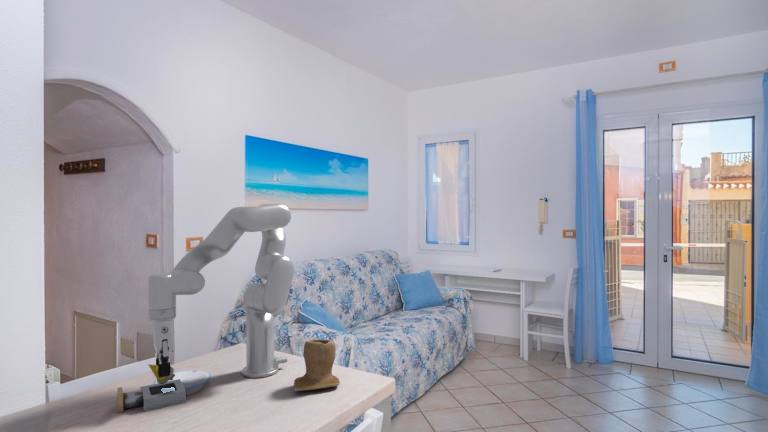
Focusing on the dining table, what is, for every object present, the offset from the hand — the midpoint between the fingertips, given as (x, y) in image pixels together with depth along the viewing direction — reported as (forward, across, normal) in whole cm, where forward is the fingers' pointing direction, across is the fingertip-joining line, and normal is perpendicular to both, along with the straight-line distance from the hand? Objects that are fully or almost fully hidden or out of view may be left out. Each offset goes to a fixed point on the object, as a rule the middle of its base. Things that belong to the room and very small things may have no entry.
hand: (163, 372), depth 132 cm
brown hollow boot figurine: (+9, -16, -43) cm, 47 cm away
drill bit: (+3, -1, 0) cm, 3 cm away
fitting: (+8, 0, +3) cm, 9 cm away
